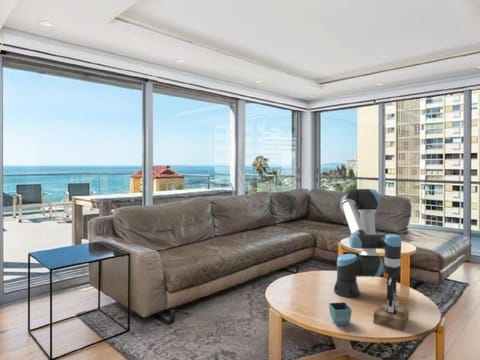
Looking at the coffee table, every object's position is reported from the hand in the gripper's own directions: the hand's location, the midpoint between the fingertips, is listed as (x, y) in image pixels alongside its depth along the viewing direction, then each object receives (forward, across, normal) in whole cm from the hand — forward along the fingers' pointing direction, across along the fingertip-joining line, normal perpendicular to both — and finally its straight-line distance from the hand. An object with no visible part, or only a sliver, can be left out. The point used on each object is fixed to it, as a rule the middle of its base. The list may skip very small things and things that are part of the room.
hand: (391, 310), depth 169 cm
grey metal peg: (+3, 0, 0) cm, 3 cm away
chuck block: (+6, +6, 0) cm, 8 cm away
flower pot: (+6, -17, +21) cm, 28 cm away
